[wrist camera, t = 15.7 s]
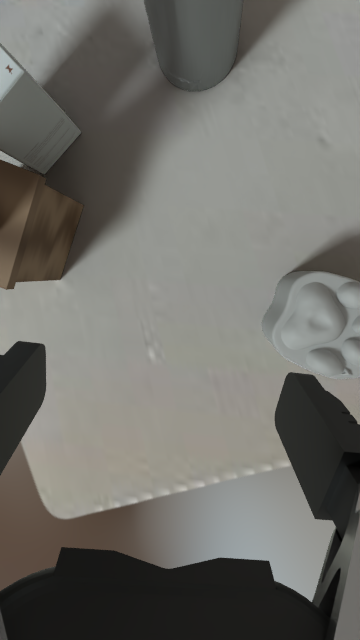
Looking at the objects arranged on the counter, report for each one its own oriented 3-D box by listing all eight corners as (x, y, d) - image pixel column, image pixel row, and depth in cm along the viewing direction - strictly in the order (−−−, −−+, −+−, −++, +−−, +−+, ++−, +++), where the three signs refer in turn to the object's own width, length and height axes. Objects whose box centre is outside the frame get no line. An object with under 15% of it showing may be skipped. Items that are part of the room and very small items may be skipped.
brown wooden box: (9, 171, 42) (-72, 131, 30) (88, 202, 41) (39, 174, 29) (-14, 254, 43) (-98, 247, 32) (62, 284, 43) (6, 289, 31)
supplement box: (41, 86, 40) (-36, 2, 27) (83, 133, 40) (26, 70, 28) (2, 132, 41) (-89, 71, 28) (43, 177, 41) (-29, 136, 29)
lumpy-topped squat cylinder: (287, 262, 40) (308, 259, 32) (388, 300, 40) (437, 308, 31) (253, 339, 42) (264, 356, 33) (350, 377, 41) (386, 404, 33)
